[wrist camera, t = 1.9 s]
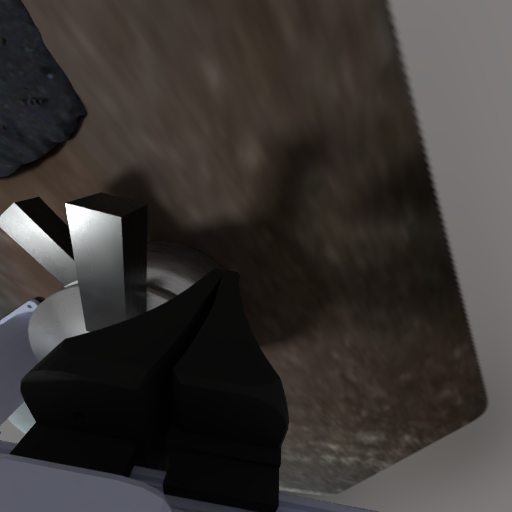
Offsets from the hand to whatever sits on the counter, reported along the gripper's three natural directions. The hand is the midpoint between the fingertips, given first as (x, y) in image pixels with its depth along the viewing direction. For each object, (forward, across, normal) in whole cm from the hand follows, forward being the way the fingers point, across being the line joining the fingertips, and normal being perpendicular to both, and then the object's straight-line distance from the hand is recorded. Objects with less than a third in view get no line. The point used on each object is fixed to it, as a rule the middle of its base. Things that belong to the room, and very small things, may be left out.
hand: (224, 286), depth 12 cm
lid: (+2, +6, +7) cm, 9 cm away
